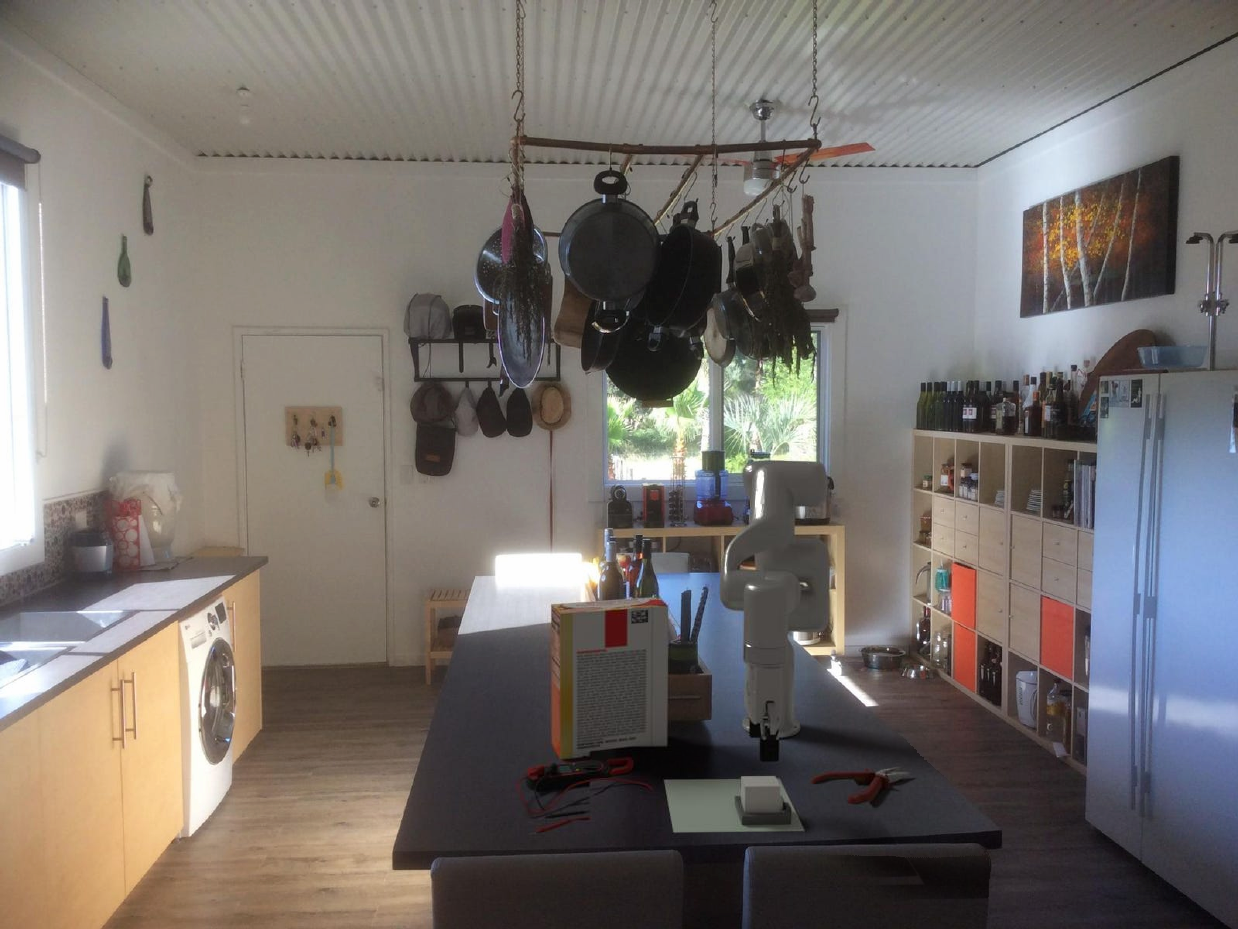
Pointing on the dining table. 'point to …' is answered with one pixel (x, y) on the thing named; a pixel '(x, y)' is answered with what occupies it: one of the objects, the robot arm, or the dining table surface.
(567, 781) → the digital clamp meter
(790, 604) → the robot arm
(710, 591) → the dining table surface
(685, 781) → the board
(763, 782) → the plug
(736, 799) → the frame
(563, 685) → the cereal box
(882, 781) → the pliers
